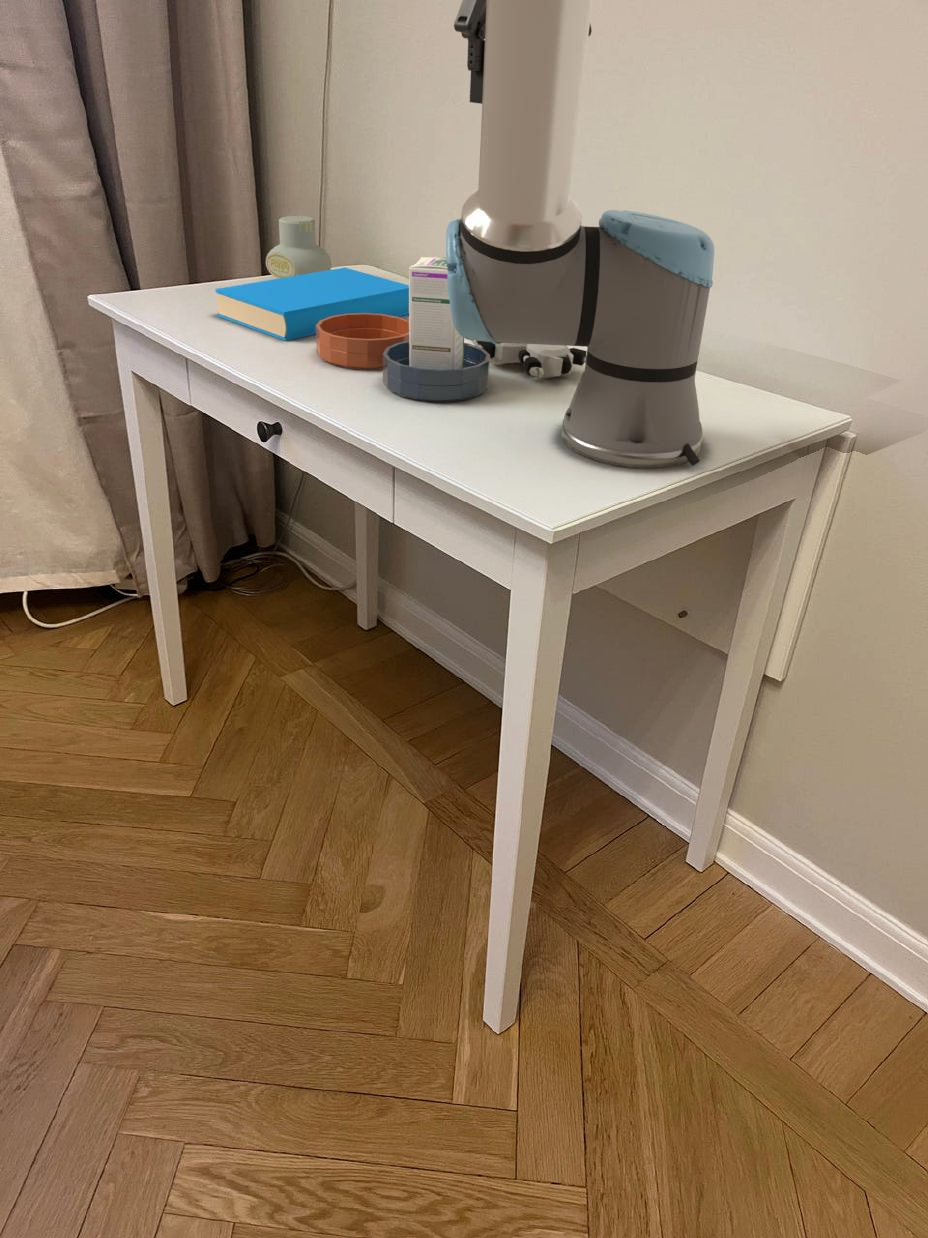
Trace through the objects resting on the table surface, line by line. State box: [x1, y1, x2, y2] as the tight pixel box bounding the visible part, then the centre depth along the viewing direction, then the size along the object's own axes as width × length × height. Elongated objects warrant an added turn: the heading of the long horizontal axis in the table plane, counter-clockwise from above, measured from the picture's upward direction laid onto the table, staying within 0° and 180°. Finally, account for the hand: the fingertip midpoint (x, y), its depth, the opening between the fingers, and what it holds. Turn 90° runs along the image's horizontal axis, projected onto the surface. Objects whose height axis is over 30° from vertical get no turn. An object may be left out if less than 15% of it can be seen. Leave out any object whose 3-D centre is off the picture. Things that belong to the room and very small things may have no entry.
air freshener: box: [265, 215, 332, 279], centre depth 165 cm, size 11×8×10 cm
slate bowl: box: [382, 341, 491, 403], centre depth 122 cm, size 13×13×4 cm
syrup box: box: [408, 256, 465, 370], centre depth 119 cm, size 6×6×14 cm
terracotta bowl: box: [315, 313, 409, 370], centre depth 132 cm, size 13×13×4 cm
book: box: [215, 267, 409, 342], centre depth 148 cm, size 17×4×25 cm
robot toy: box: [469, 340, 587, 379], centre depth 130 cm, size 12×4×15 cm
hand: (520, 102), depth 122 cm, fingers open, 13 cm apart
